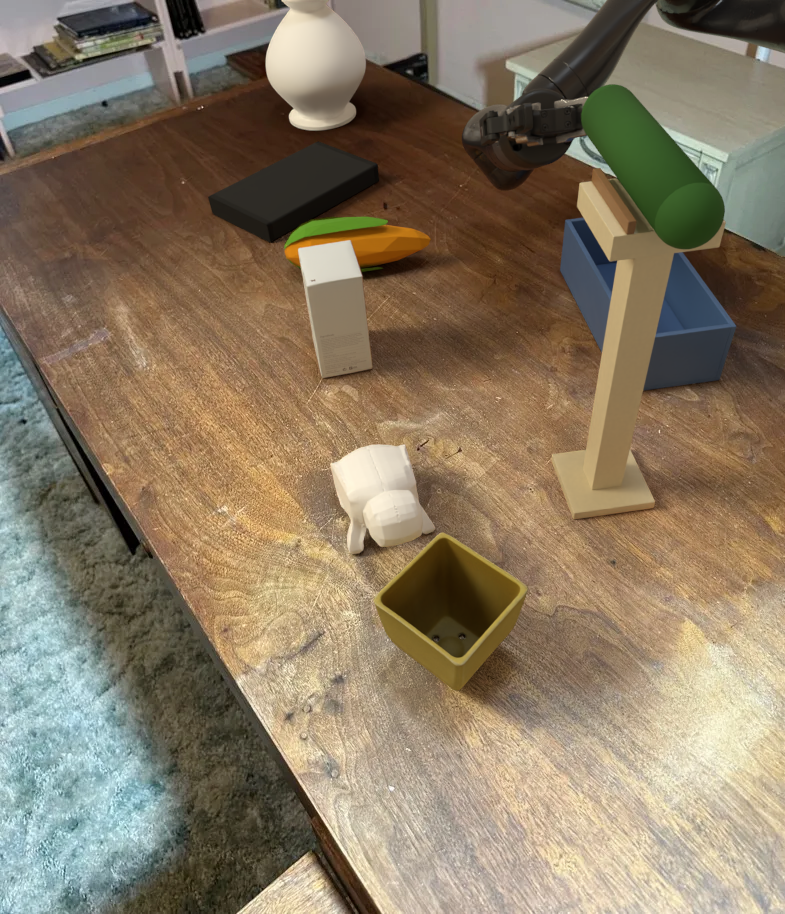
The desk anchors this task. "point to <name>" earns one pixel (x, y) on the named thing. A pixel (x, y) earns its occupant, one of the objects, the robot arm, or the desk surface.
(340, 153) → the external hard drive
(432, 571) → the flower pot
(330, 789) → the desk surface
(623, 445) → the wooden cradle stand
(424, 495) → the desk surface
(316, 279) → the small box
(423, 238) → the corn
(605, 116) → the green cylinder
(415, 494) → the white animal figurine
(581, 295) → the open box
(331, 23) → the decorative vase
